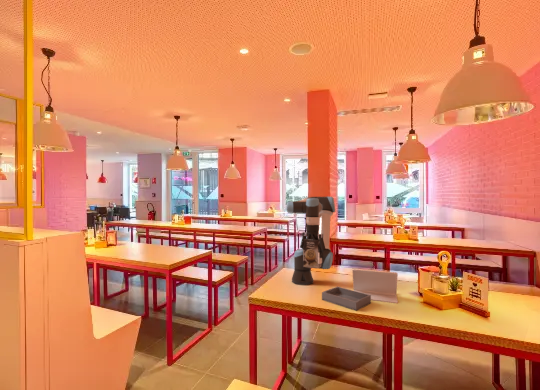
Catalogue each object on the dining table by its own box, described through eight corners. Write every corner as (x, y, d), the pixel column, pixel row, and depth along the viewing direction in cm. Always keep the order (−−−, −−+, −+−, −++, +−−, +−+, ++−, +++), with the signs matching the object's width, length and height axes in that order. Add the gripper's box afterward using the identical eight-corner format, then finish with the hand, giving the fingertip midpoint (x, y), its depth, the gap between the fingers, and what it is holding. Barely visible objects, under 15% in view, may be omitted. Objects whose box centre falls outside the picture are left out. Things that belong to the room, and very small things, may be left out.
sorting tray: (322, 299, 162) (322, 292, 162) (337, 293, 173) (337, 286, 173) (356, 310, 146) (356, 302, 146) (370, 303, 157) (370, 295, 157)
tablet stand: (398, 304, 157) (398, 273, 157) (352, 298, 165) (352, 269, 166) (395, 293, 174) (395, 266, 174) (354, 289, 182) (354, 263, 183)
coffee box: (303, 266, 163) (303, 239, 163) (307, 264, 168) (307, 238, 169) (317, 268, 158) (317, 240, 159) (321, 266, 164) (321, 239, 164)
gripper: (294, 223, 170) (294, 259, 170) (324, 226, 153) (324, 266, 152) (302, 222, 175) (302, 257, 175) (332, 225, 158) (332, 264, 157)
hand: (312, 261), depth 163 cm, fingers closed on coffee box, 10 cm apart
